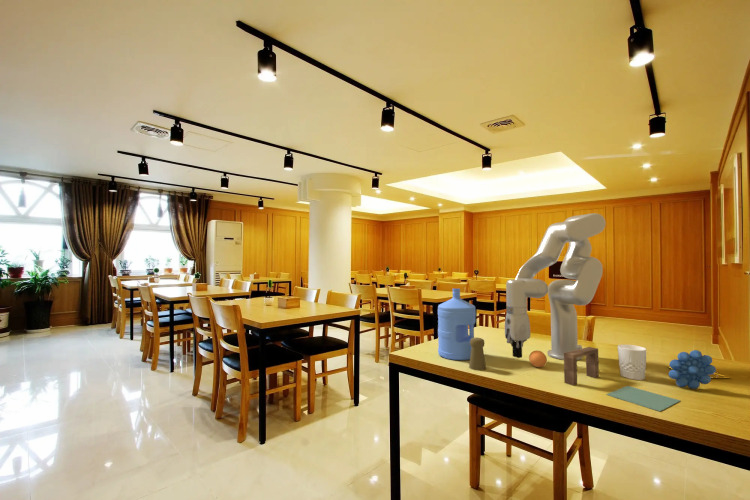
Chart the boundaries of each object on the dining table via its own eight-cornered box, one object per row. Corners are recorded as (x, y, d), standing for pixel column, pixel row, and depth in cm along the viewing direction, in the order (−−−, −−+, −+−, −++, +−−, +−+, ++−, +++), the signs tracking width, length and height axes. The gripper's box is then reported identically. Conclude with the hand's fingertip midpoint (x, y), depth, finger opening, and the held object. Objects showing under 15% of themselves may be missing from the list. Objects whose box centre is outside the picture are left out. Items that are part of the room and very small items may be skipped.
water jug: (432, 356, 140) (431, 289, 141) (446, 348, 153) (446, 286, 154) (468, 363, 132) (467, 291, 132) (481, 353, 144) (480, 288, 145)
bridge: (564, 382, 110) (563, 352, 111) (589, 374, 118) (588, 346, 118) (573, 385, 108) (573, 355, 108) (598, 377, 115) (598, 348, 115)
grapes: (707, 386, 107) (706, 347, 107) (721, 394, 100) (720, 353, 101) (662, 381, 111) (661, 345, 111) (673, 389, 104) (672, 350, 105)
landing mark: (627, 386, 107) (627, 385, 107) (680, 401, 96) (680, 400, 96) (606, 394, 100) (606, 394, 100) (660, 411, 89) (660, 410, 89)
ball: (535, 363, 131) (535, 347, 131) (550, 367, 125) (550, 351, 126) (525, 366, 128) (525, 350, 128) (540, 370, 122) (540, 353, 123)
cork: (487, 370, 123) (486, 340, 123) (469, 369, 124) (469, 339, 124) (485, 365, 128) (484, 336, 129) (468, 364, 130) (468, 335, 130)
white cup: (641, 374, 118) (640, 345, 118) (651, 382, 111) (650, 351, 111) (615, 371, 121) (614, 343, 121) (623, 379, 113) (622, 349, 114)
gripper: (511, 313, 128) (512, 362, 127) (537, 310, 135) (537, 356, 135) (496, 310, 134) (496, 357, 134) (520, 308, 142) (521, 352, 141)
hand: (517, 356), depth 134 cm, fingers closed
